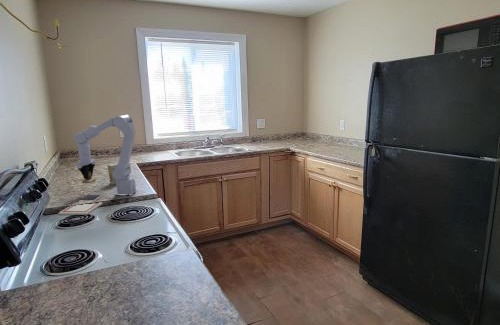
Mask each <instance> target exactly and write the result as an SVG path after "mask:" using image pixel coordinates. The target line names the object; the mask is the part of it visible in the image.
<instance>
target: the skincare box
mask: <svg viewBox="0 0 500 325" xmlns="http://www.w3.org/2000/svg"><path fill="white" fill-rule="evenodd" d="M117 164H118V162H115V163H111V164H108V165H107V169H108V170H107V172H108V177H109V183H110V184H111V185H116V179H115V178H114V177H113V171H114V170H115V168H116V165H117Z"/></svg>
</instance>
